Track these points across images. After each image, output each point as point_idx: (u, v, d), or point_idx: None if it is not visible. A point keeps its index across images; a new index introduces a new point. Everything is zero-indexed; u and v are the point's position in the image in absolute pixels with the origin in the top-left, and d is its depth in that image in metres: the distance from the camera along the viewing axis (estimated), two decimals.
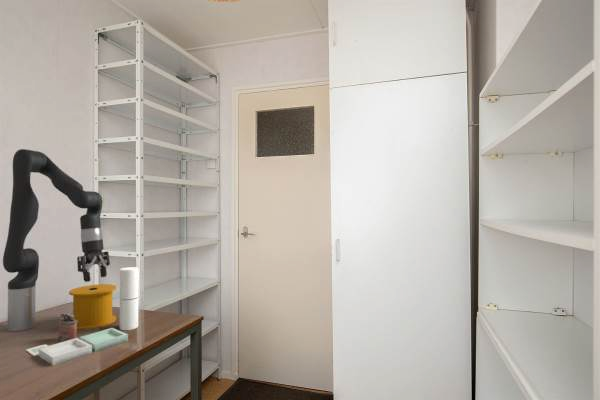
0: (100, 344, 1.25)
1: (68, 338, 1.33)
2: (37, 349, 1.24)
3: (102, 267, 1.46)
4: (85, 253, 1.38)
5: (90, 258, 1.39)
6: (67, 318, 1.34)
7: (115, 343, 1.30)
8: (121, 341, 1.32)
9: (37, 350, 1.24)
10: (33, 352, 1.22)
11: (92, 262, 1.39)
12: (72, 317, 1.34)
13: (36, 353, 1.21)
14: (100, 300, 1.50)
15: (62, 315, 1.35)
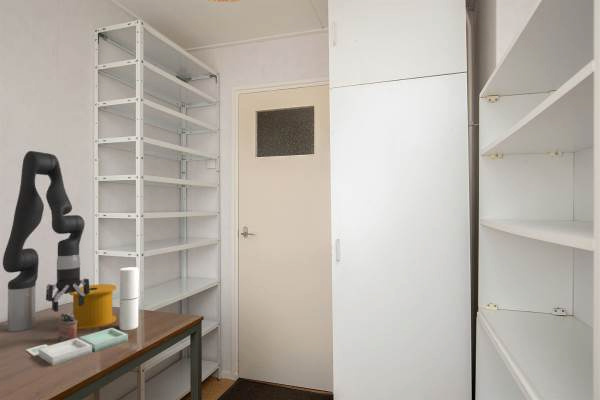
0: (100, 344, 1.25)
1: (68, 338, 1.33)
2: (37, 349, 1.24)
3: (80, 295, 1.38)
4: (57, 281, 1.32)
5: (61, 287, 1.32)
6: (67, 318, 1.34)
7: (115, 343, 1.30)
8: (121, 341, 1.32)
9: (37, 350, 1.24)
10: (33, 352, 1.22)
11: (62, 292, 1.32)
12: (72, 317, 1.34)
13: (36, 353, 1.21)
14: (100, 300, 1.50)
15: (62, 315, 1.35)
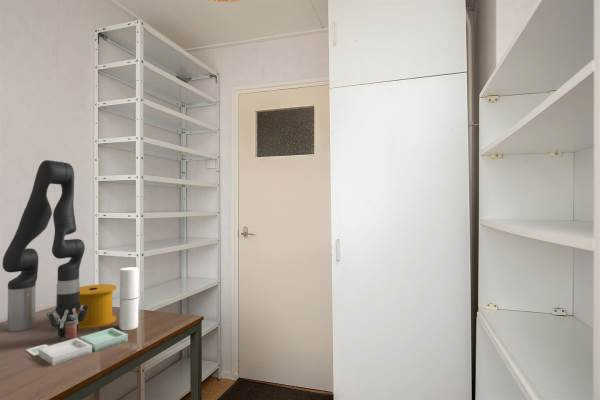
0: (100, 344, 1.25)
1: (68, 338, 1.33)
2: (37, 349, 1.24)
3: None
4: (56, 306, 1.32)
5: (61, 313, 1.32)
6: (67, 318, 1.34)
7: (115, 343, 1.30)
8: (121, 341, 1.32)
9: (37, 350, 1.24)
10: (33, 352, 1.22)
11: (64, 317, 1.32)
12: (72, 317, 1.34)
13: (36, 353, 1.21)
14: (100, 300, 1.50)
15: None
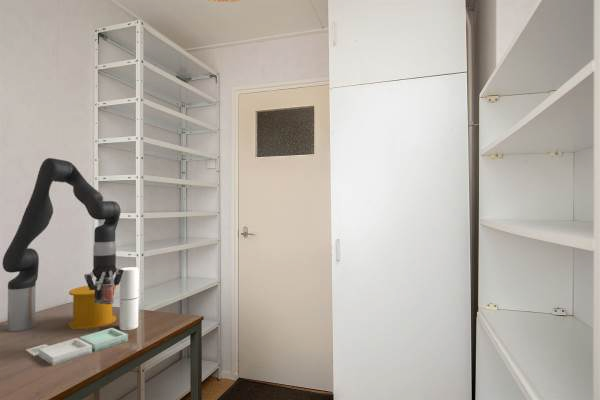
0: (100, 344, 1.25)
1: (105, 301, 1.30)
2: (37, 349, 1.24)
3: None
4: (94, 268, 1.30)
5: (98, 275, 1.30)
6: (104, 280, 1.31)
7: (115, 343, 1.30)
8: (121, 341, 1.32)
9: (37, 350, 1.24)
10: (33, 352, 1.22)
11: (101, 279, 1.30)
12: (109, 279, 1.31)
13: (36, 353, 1.21)
14: None
15: None
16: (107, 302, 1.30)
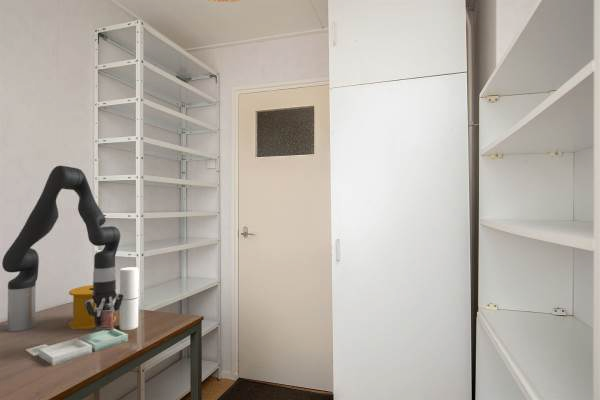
0: (100, 344, 1.25)
1: (105, 327, 1.30)
2: (37, 349, 1.24)
3: None
4: (93, 294, 1.29)
5: (98, 302, 1.30)
6: (104, 306, 1.31)
7: (115, 343, 1.30)
8: (121, 341, 1.32)
9: (37, 350, 1.24)
10: (33, 352, 1.22)
11: (101, 305, 1.30)
12: (109, 305, 1.31)
13: (36, 353, 1.21)
14: None
15: None
16: (107, 328, 1.30)
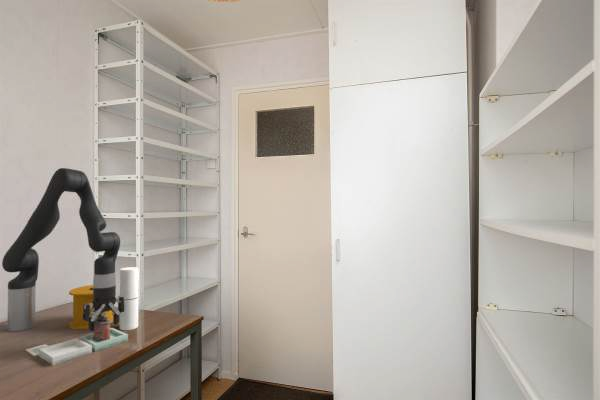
0: (100, 344, 1.25)
1: (102, 339, 1.30)
2: (37, 349, 1.24)
3: (115, 314, 1.36)
4: (93, 300, 1.29)
5: (97, 306, 1.29)
6: (101, 318, 1.31)
7: (115, 343, 1.30)
8: (121, 341, 1.32)
9: (37, 350, 1.24)
10: (33, 352, 1.22)
11: (99, 311, 1.29)
12: (105, 317, 1.30)
13: (36, 353, 1.21)
14: None
15: None
16: (103, 340, 1.29)
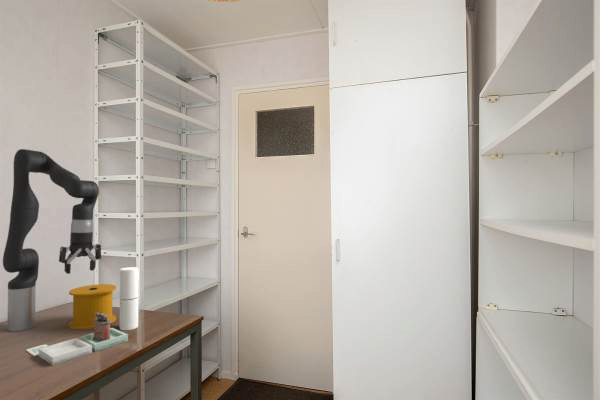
0: (100, 344, 1.25)
1: (102, 339, 1.30)
2: (37, 349, 1.24)
3: (91, 260, 1.40)
4: (70, 244, 1.34)
5: (74, 250, 1.34)
6: (101, 318, 1.31)
7: (115, 343, 1.30)
8: (121, 341, 1.32)
9: (37, 350, 1.24)
10: (33, 352, 1.22)
11: (75, 254, 1.34)
12: (105, 317, 1.30)
13: (36, 353, 1.21)
14: (100, 300, 1.50)
15: (96, 315, 1.32)
16: (103, 340, 1.29)
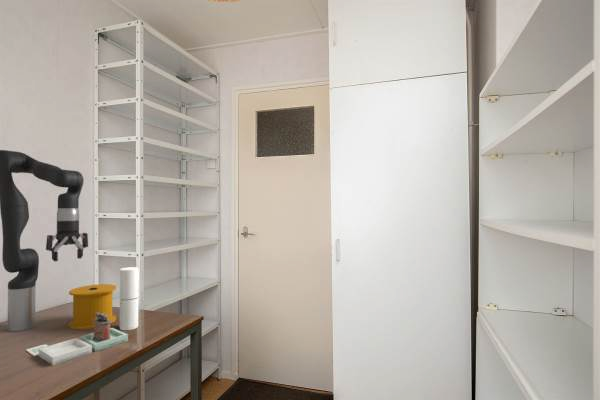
0: (100, 344, 1.25)
1: (102, 339, 1.30)
2: (37, 349, 1.24)
3: (78, 248, 1.43)
4: (57, 232, 1.37)
5: (60, 238, 1.37)
6: (101, 318, 1.31)
7: (115, 343, 1.30)
8: (121, 341, 1.32)
9: (37, 350, 1.24)
10: (33, 352, 1.22)
11: (61, 242, 1.37)
12: (105, 317, 1.30)
13: (36, 353, 1.21)
14: (100, 300, 1.50)
15: (96, 315, 1.32)
16: (103, 340, 1.29)
